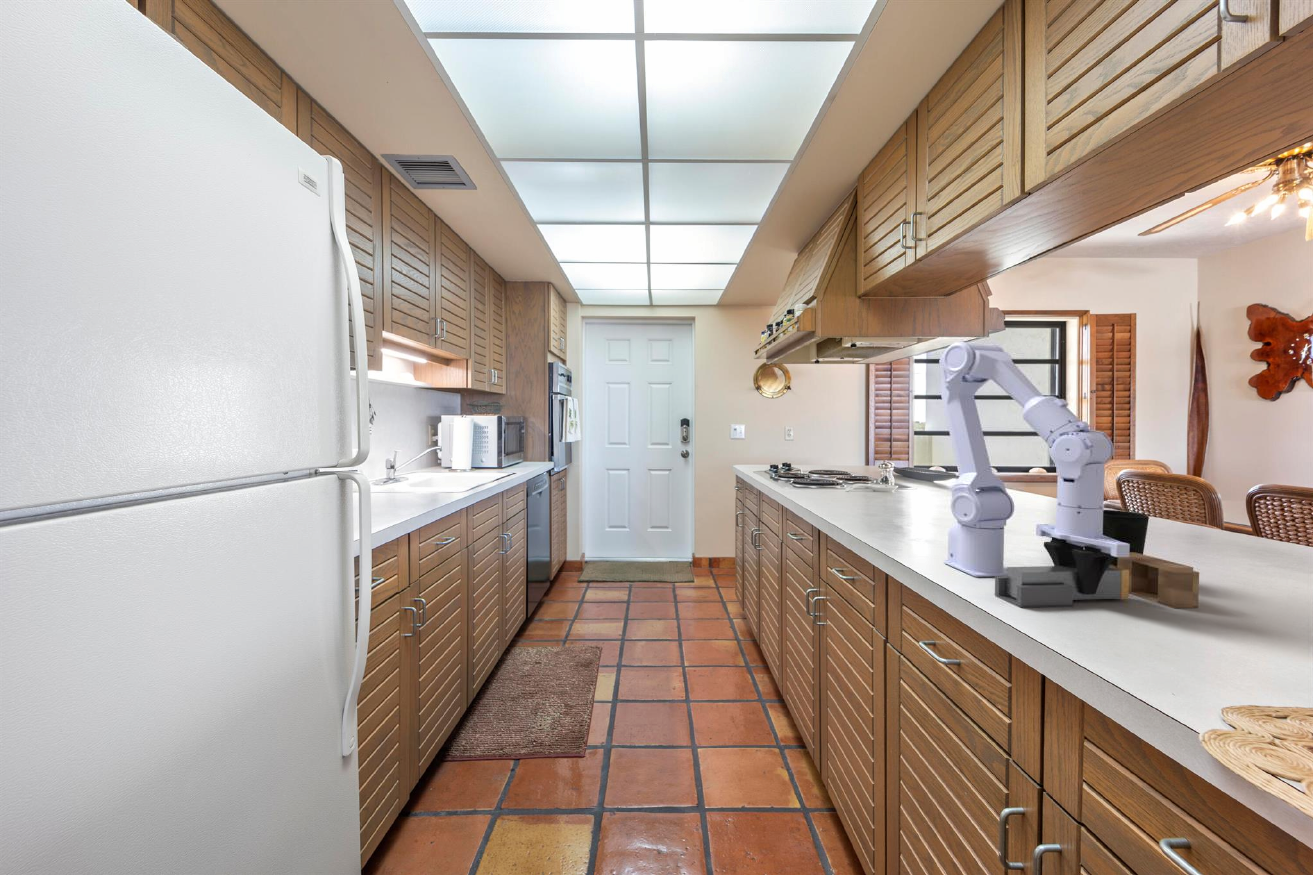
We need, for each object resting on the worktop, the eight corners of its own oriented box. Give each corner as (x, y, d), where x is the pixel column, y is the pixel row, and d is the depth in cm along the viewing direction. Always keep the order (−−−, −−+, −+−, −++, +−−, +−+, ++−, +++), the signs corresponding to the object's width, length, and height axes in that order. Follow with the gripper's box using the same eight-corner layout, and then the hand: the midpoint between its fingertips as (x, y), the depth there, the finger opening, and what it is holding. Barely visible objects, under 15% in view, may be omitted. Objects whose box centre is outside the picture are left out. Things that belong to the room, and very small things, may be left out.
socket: (1116, 588, 86) (1117, 552, 86) (1138, 588, 87) (1139, 552, 87) (1174, 608, 77) (1175, 567, 77) (1198, 607, 78) (1199, 567, 78)
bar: (1006, 594, 82) (1006, 566, 82) (1109, 592, 83) (1110, 564, 83) (1021, 601, 79) (1022, 572, 79) (1128, 598, 80) (1129, 570, 80)
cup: (1158, 586, 88) (1160, 518, 87) (1107, 583, 89) (1109, 516, 89) (1127, 573, 95) (1128, 510, 95) (1080, 570, 97) (1082, 509, 96)
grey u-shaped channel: (994, 595, 83) (995, 576, 83) (1043, 594, 84) (1043, 575, 83) (1020, 607, 78) (1021, 587, 78) (1072, 606, 78) (1072, 585, 78)
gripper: (1020, 499, 88) (1018, 576, 88) (1098, 514, 73) (1096, 606, 74) (1058, 498, 88) (1056, 575, 89) (1144, 514, 74) (1141, 605, 74)
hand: (1077, 589), depth 81 cm, fingers closed on bar, 3 cm apart
